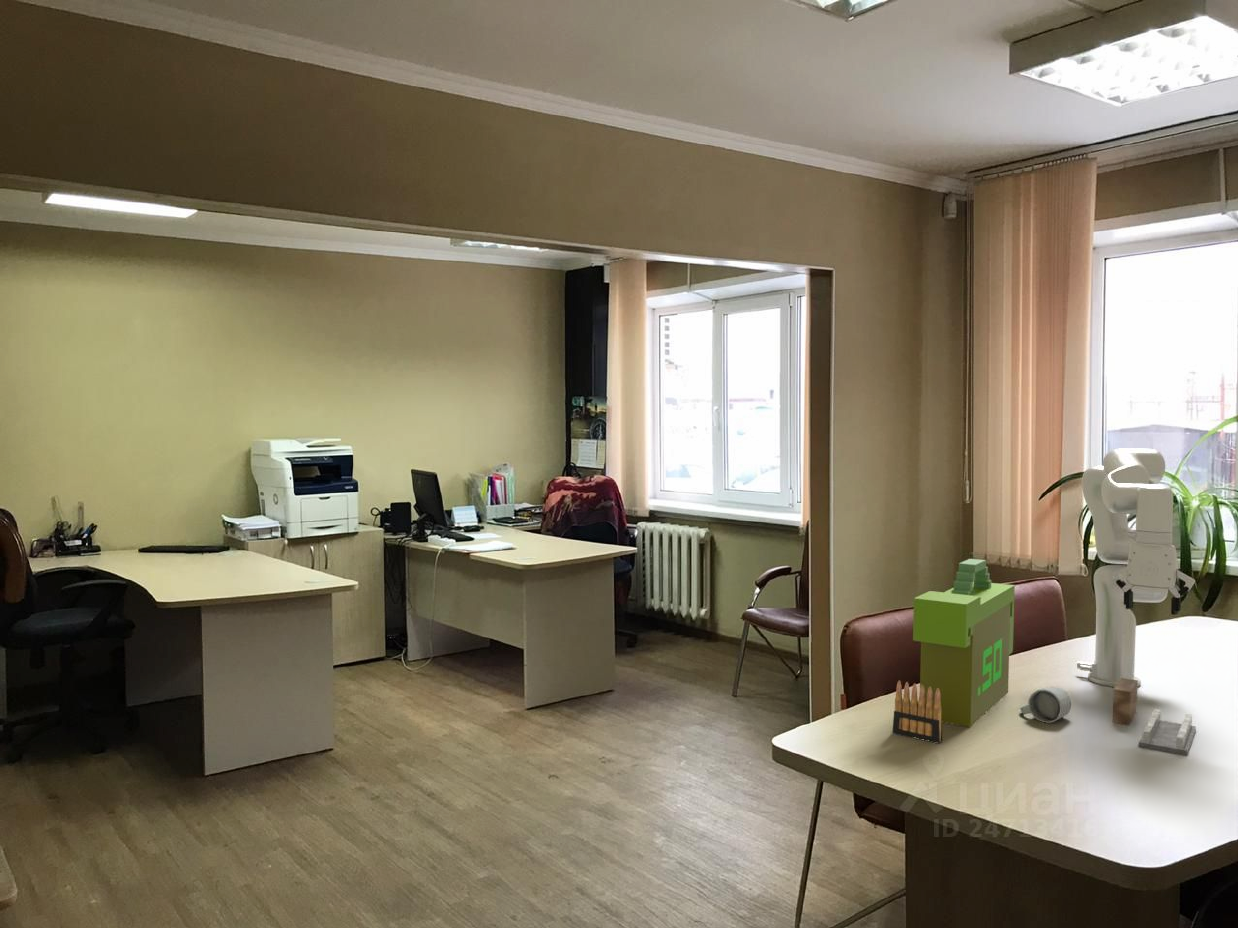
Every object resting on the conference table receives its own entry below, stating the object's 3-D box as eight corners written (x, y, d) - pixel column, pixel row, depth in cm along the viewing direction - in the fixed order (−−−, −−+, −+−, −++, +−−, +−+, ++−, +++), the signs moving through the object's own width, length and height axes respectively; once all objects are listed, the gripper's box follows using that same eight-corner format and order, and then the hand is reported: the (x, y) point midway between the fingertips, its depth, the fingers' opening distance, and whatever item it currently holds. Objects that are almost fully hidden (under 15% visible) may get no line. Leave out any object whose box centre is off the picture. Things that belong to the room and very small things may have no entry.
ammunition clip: (942, 741, 206) (943, 687, 206) (939, 743, 205) (940, 689, 204) (895, 730, 213) (896, 678, 213) (892, 732, 212) (893, 680, 211)
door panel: (1112, 722, 220) (1113, 689, 220) (1120, 710, 230) (1121, 677, 230) (1129, 725, 218) (1130, 691, 218) (1136, 713, 228) (1137, 680, 228)
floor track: (1138, 746, 204) (1139, 730, 204) (1150, 722, 220) (1151, 708, 220) (1187, 755, 199) (1187, 739, 199) (1195, 730, 215) (1196, 715, 215)
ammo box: (963, 734, 211) (967, 578, 210) (911, 724, 218) (914, 572, 216) (1011, 688, 248) (1015, 555, 246) (965, 681, 255) (969, 551, 253)
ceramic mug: (1073, 718, 223) (1073, 686, 223) (1061, 726, 217) (1061, 693, 217) (1027, 709, 230) (1028, 678, 230) (1014, 716, 225) (1014, 684, 224)
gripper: (1108, 536, 225) (1106, 608, 226) (1191, 543, 213) (1189, 618, 214) (1118, 534, 231) (1116, 604, 231) (1199, 540, 219) (1197, 614, 219)
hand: (1151, 611), depth 222 cm, fingers open, 9 cm apart
